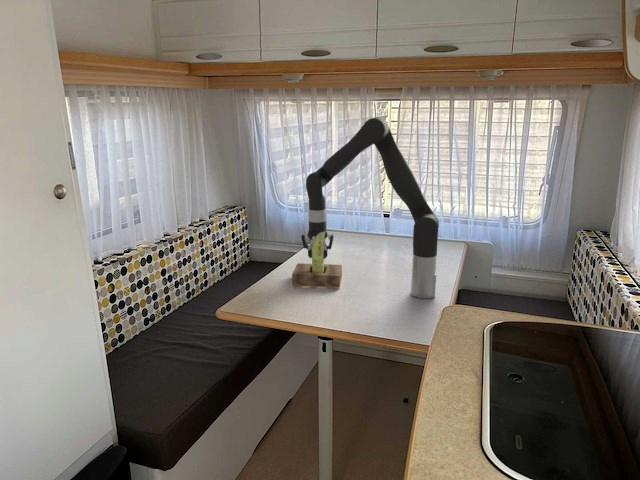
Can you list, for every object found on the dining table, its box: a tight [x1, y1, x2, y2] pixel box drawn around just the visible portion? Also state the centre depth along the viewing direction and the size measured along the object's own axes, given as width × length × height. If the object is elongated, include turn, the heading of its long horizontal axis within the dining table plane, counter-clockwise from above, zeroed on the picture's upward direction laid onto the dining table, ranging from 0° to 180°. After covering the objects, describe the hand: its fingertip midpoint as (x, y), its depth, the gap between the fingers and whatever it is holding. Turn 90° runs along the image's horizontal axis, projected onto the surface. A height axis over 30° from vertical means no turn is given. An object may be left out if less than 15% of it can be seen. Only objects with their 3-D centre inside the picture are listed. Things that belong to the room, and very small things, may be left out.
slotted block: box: [291, 262, 343, 290], centre depth 207 cm, size 20×14×6 cm
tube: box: [311, 231, 326, 273], centre depth 204 cm, size 6×5×20 cm
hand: (317, 257), depth 205 cm, fingers closed on tube, 5 cm apart
